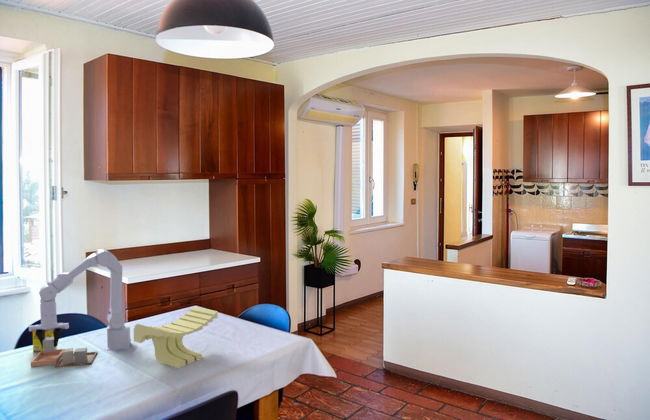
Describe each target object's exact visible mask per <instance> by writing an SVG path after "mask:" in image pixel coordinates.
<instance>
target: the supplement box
mask: <svg viewBox="0 0 650 420" xmlns="http://www.w3.org/2000/svg"><path fill="white" fill-rule="evenodd" d="M54 330H55V329H51V330H45V337H54V334H53V331H54ZM35 333H36V331H32V350H33V353H36V352H37V353H39V352H40V351H42V350H43V348H42V346H41V343H40V340H39V339H38V337H37V336H36V334H35Z"/></svg>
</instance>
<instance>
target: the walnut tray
mask: <svg viewBox="0 0 650 420" xmlns="http://www.w3.org/2000/svg"><path fill="white" fill-rule="evenodd" d="M73 355H74V352H73ZM97 355H98V351H87V361H86V363H76V364H74V363H71V364H65V365H63V364H62V357H61V359H60V360H59V361H58V363H57V364H56V365H54V369H55V368H56V369H57V368H66V367H77V366H78V367H79V366H90V365H93V362H94V360H95V358H96V357H97Z"/></svg>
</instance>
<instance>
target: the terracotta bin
mask: <svg viewBox="0 0 650 420" xmlns="http://www.w3.org/2000/svg"><path fill="white" fill-rule="evenodd" d="M62 349H63V348H59V349H57V348H56V350H55V351H54V352H43V350H42V351H40V352H37V354H36V356H35V357H34V358H33V359H31V361H30V367H31V368H32V367H34V368H35V367H44V366H55V365H56V364H57V363H58V361H59V360H60V359H61V357H62Z"/></svg>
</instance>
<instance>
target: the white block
mask: <svg viewBox="0 0 650 420" xmlns="http://www.w3.org/2000/svg"><path fill="white" fill-rule="evenodd" d="M61 349H62V364H63V365H65V364H71V363H74V355H73V353H74V347H70V348H61Z"/></svg>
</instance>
